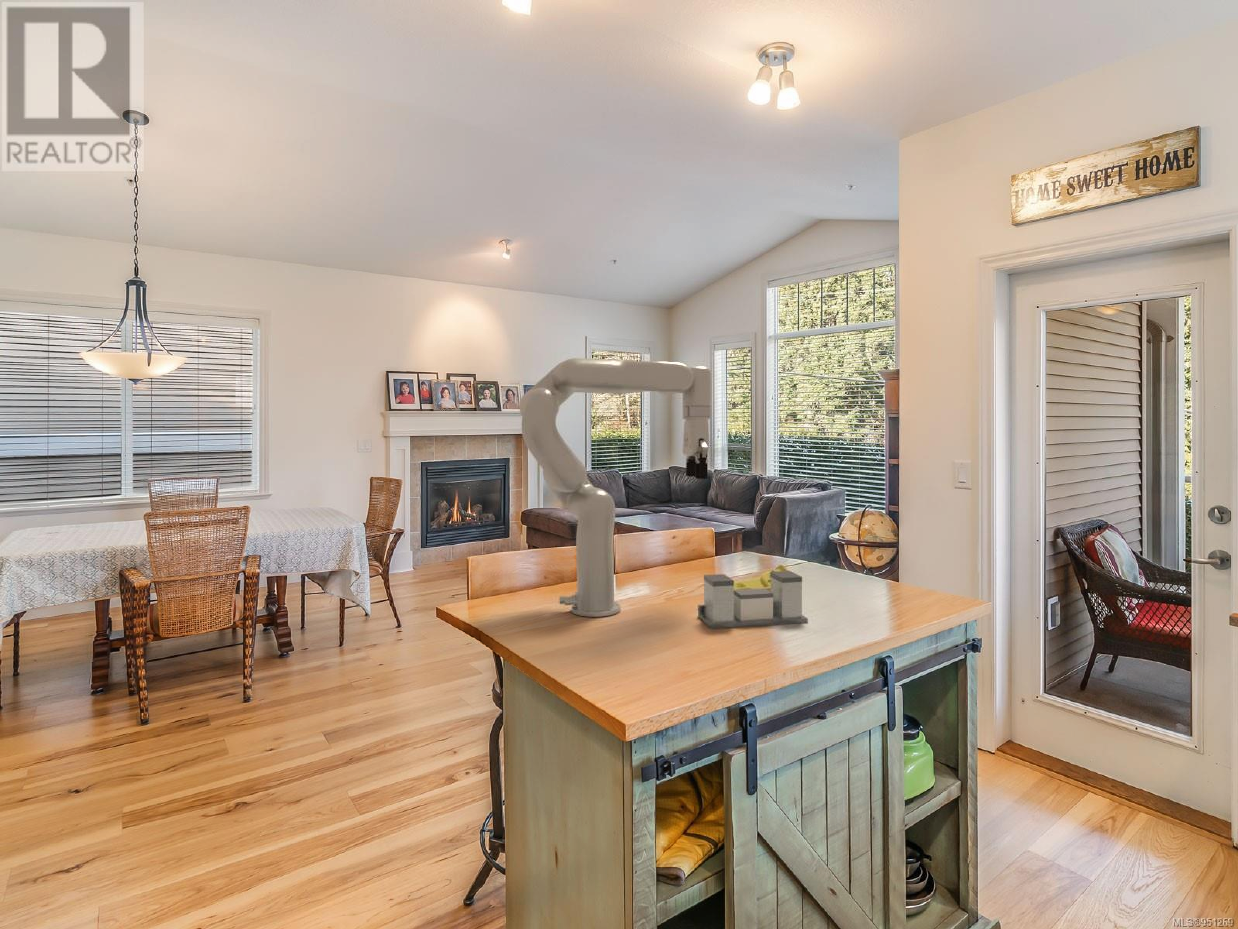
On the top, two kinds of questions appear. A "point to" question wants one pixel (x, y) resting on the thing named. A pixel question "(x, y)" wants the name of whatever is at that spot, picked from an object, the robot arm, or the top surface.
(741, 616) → the block
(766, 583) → the plastic component
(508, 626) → the top surface
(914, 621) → the top surface
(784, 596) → the grey fixture holder
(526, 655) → the top surface
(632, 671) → the top surface
